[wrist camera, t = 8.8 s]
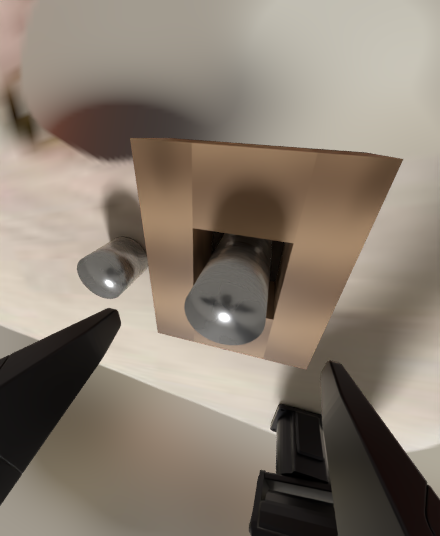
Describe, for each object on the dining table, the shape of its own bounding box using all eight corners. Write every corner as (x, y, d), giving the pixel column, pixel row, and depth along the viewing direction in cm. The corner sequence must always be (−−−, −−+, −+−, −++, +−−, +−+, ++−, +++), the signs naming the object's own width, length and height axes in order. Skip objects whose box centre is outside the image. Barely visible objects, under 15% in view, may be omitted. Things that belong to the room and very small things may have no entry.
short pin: (150, 277, 21) (126, 303, 18) (114, 270, 22) (85, 293, 19) (145, 240, 19) (116, 262, 16) (106, 233, 20) (70, 253, 16)
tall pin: (267, 272, 18) (258, 353, 11) (220, 263, 18) (185, 335, 12) (277, 226, 16) (273, 292, 9) (223, 218, 16) (183, 274, 10)
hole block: (301, 325, 20) (306, 369, 16) (179, 299, 22) (158, 332, 18) (365, 152, 12) (402, 159, 8) (170, 138, 14) (130, 138, 10)
